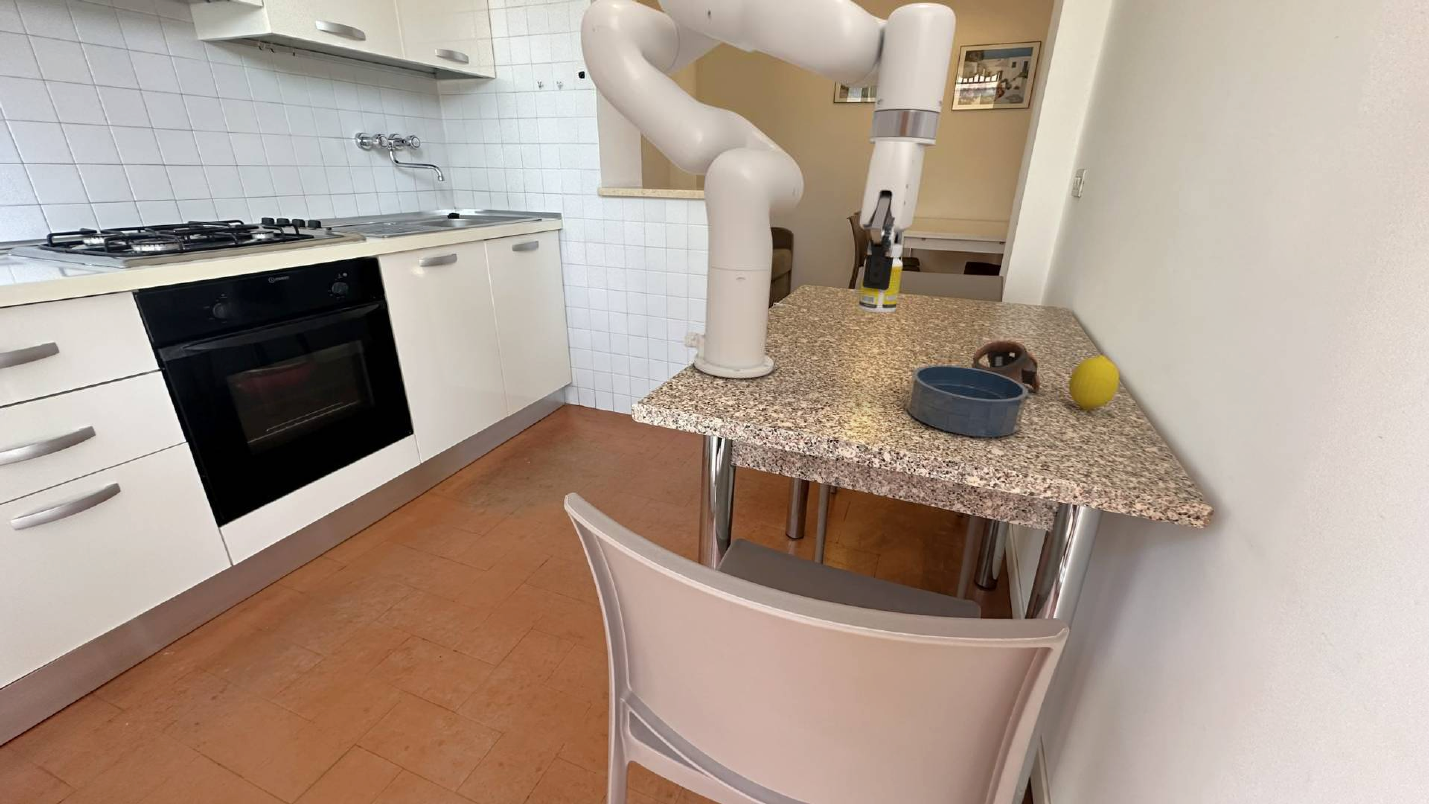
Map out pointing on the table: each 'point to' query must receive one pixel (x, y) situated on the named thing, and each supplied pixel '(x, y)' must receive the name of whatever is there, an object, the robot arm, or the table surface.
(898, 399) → the table surface
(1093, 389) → the lemon
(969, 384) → the bowl
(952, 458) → the table surface
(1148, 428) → the table surface
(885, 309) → the supplement bottle
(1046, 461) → the table surface
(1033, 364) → the pottery mug
